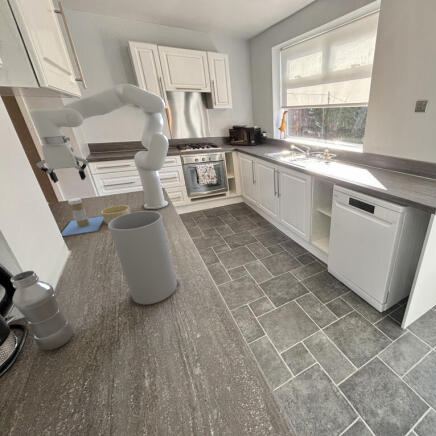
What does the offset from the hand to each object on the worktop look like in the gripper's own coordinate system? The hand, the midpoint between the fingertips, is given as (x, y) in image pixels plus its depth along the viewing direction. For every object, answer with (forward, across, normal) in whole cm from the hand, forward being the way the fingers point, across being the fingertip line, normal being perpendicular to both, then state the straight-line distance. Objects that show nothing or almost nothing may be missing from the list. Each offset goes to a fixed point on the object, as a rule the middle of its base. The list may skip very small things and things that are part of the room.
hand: (70, 180), depth 107 cm
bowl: (+23, -12, -1) cm, 26 cm away
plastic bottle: (+22, -10, +76) cm, 80 cm away
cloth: (+22, +2, 0) cm, 23 cm away
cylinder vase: (+23, -31, +66) cm, 76 cm away
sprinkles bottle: (+22, +2, 0) cm, 22 cm away
